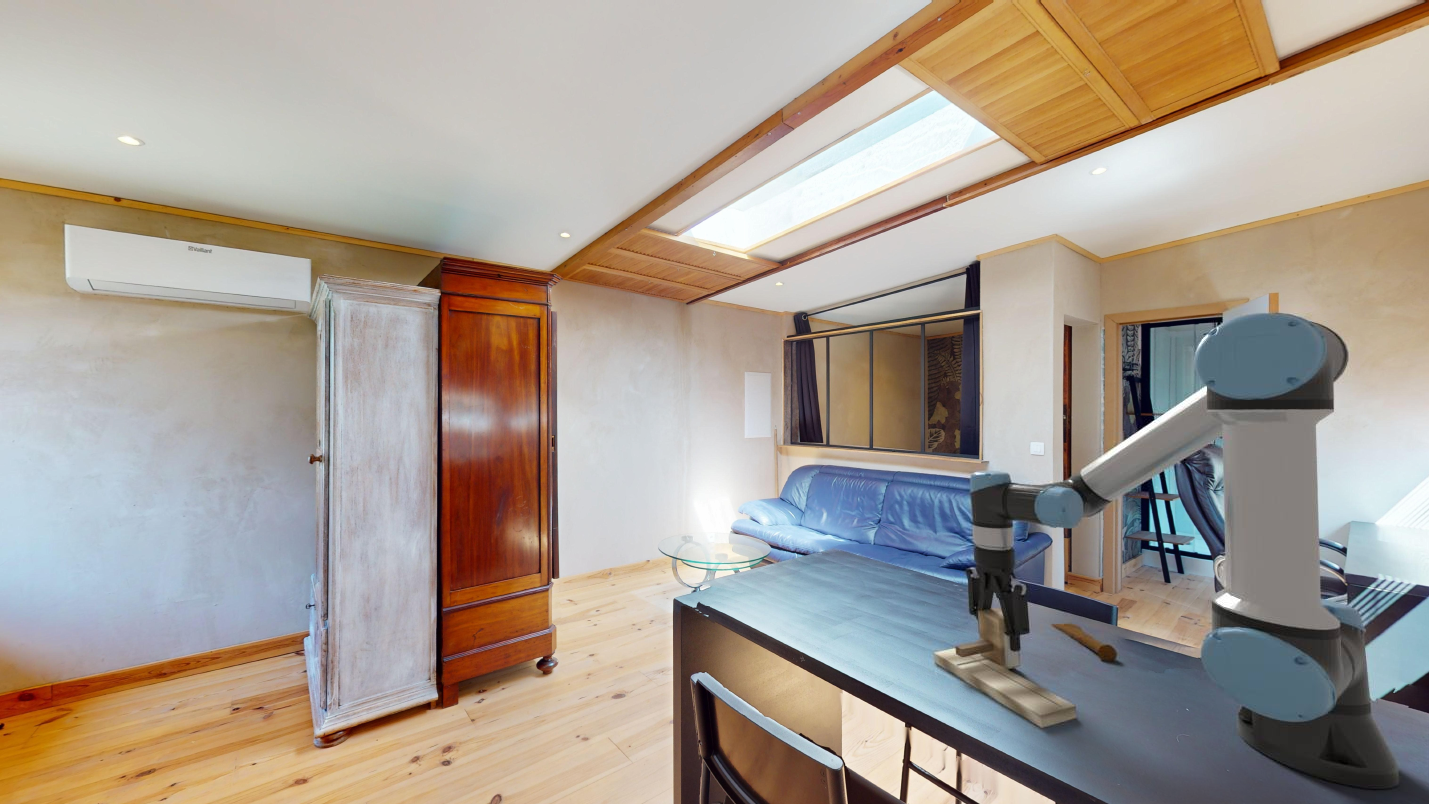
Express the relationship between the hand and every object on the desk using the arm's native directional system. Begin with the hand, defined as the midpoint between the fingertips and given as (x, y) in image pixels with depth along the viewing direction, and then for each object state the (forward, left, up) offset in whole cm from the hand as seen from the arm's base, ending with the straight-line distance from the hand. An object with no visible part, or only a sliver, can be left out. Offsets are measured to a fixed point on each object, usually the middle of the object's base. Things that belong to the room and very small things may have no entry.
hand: (999, 659), depth 100 cm
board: (-6, +7, -2) cm, 9 cm away
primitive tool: (+3, -27, -2) cm, 28 cm away
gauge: (0, +4, -1) cm, 4 cm away
